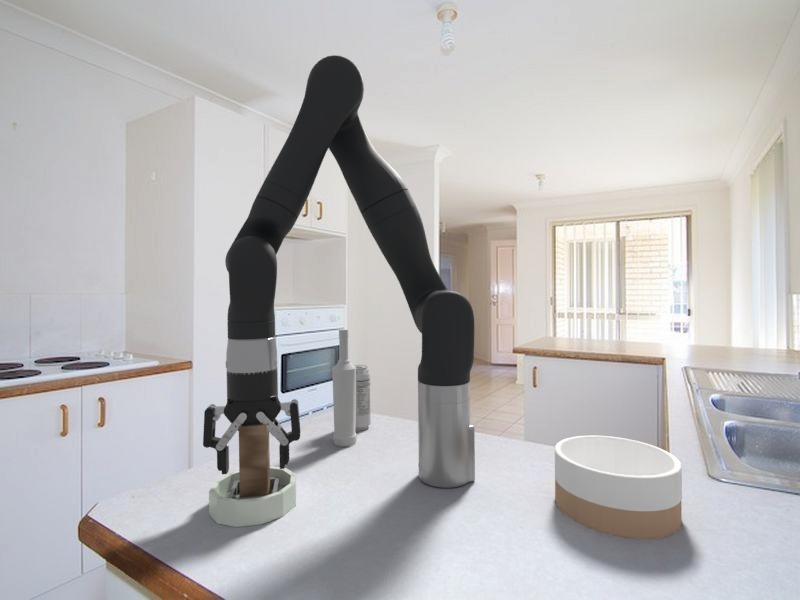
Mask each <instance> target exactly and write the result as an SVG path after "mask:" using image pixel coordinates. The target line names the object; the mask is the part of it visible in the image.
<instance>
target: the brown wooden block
mask: <svg viewBox="0 0 800 600" xmlns="http://www.w3.org/2000/svg"><path fill="white" fill-rule="evenodd" d="M238 458H239V459H238V462H239V464H238V467H239V468H238V469H239V470H238V471H239V478H240V498H244V497H254V496H264V495H269V494H270V466H271V465H270V464H271V463H270V460H271V459H270V432H269V431H268V430H267V429H266V425H263V424H250V425H241V426H239V431H238Z"/></svg>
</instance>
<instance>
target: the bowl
mask: <svg viewBox="0 0 800 600" xmlns="http://www.w3.org/2000/svg"><path fill="white" fill-rule="evenodd" d="M682 468H683V466H682V463H681V461H680V460H679V458H677V457H676V456H675V455H674V454H672V453H671V452H669V451H666V449H665V450H664V449H662V448H660V447H658V446H656V445H653V444H650V443H646V442H642V441H639V440H636V439H635V440H634V439H630V438H624V437H617V436H611V435H610V436H609V435H608V436H607V435H596V434H595V435H593V434H592V435H576V436H571V437H567V438H564V439H561V440H560V441H558V442H557V443H556V445H555V446H554V490H555V491H554V493H555V494H554V496H555V497H554V500H555V503H556V505H557V507H558V509H559V510H560V511H561V512H562V513H563V514H564V515H566V516H567V517H568V518H569V519H571V520H573V521H575V523H578V524H580V525H582V526H584V527H587V528H589V529H592V530H594V531H598V532H600V533H603V534H606V535H611V536H616V537H621V538H628V539H638V540H650V539H651V540H654V539H660V538H665V537H668V536H671V535H673V534H675V533H677V532H678V531H679V529H680V528H681V526H682V499H683V490H682V489H683V485H682V484H683V473H682V472H683V469H682Z"/></svg>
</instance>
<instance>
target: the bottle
mask: <svg viewBox="0 0 800 600" xmlns="http://www.w3.org/2000/svg"><path fill="white" fill-rule="evenodd" d="M338 339H339V344H338V346H339V349H338V351H339V353H338V354H339V359H338V360H337V363H336V364H335V365H334V366H333V367H332V368H331V369H332V371H331V372H332V398H333V399H332V400H333V401H332V403H333V404H332V405H333V430H334V431H333V437H332V439H333V440H332V441H333V444H334V445H335V446H338V447H351V446H353V445H355V444H356V442H357V437H358V434H357V433H356V431H355V424H356V367H355V366H354V365H355V364H353V363H352V362H351V360H350V358H349V329H344V328H341V329H340V328H339V329H338Z"/></svg>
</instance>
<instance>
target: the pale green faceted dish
mask: <svg viewBox="0 0 800 600" xmlns="http://www.w3.org/2000/svg"><path fill="white" fill-rule="evenodd" d="M208 500H209V501H208V504H209V505H208V508H209V509H208V510H209V513H208V515H209V516H210V517H211V518H212V520H214V522H215V523H216V524H220V525H222V526H223V525H224V526H230V527H235V528H241V527H250V526H260V525H263V524H266V523H269V522H271V521H275V520H276V519H279V518H282V517H284V516H285V515H286V514H288V513H289V512H290V511H291V510H292V509H293V508H295V506H297V474H296V473H294V472H293V471H291V470H290V469H289V468H287V467H285V468H284V469H280V466H274V465H273V466H272V465H270V494H269V495H264V496H254V497H244V498H240V478H239V470H236V471H231V472H228V473H227V474H224V475H223V476H222V477H219V478H218V479H216V480H215V481H213V483H212V484H211V487H210V489H208Z"/></svg>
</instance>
